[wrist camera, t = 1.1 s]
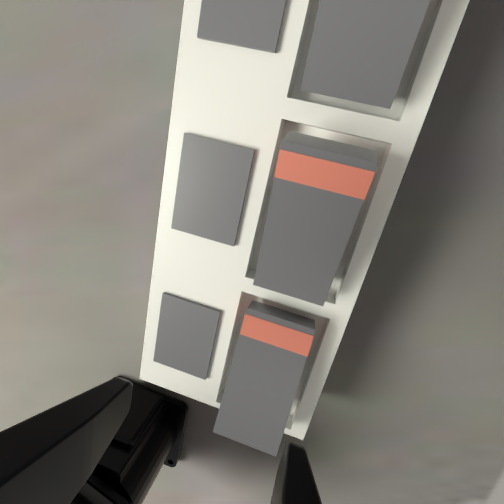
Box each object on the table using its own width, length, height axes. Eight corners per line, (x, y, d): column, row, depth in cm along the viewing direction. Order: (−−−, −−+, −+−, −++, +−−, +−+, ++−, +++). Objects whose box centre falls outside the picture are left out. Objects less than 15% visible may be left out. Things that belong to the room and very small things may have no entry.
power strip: (308, 389, 21) (302, 443, 17) (171, 341, 23) (137, 380, 19) (471, -64, 13) (530, -157, 9) (238, -93, 14) (203, -183, 11)
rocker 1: (279, 435, 17) (276, 457, 15) (221, 413, 17) (212, 432, 15) (314, 319, 16) (315, 329, 14) (252, 300, 16) (246, 307, 15)
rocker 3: (326, 284, 15) (323, 306, 14) (261, 265, 16) (252, 284, 14) (376, 150, 12) (378, 163, 10) (290, 130, 12) (281, 140, 11)
